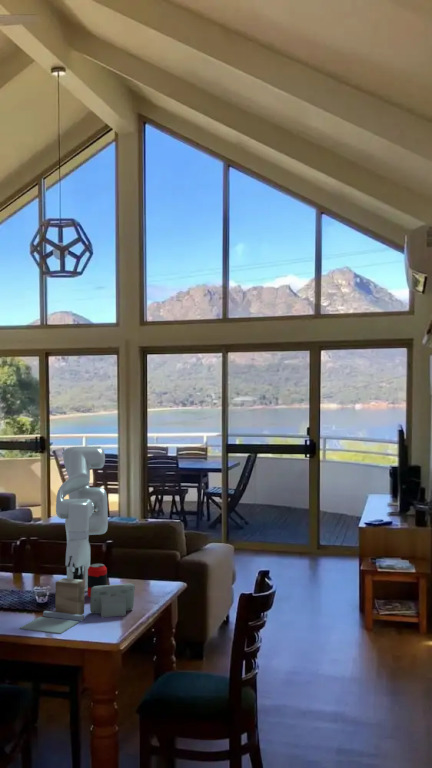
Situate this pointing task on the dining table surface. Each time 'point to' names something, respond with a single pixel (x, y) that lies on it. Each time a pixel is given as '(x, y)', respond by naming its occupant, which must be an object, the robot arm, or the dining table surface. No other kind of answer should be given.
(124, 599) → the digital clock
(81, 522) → the robot arm
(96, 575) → the soda can
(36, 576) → the dining table surface
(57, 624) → the mat
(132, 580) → the dining table surface
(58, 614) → the rail
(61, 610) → the block
